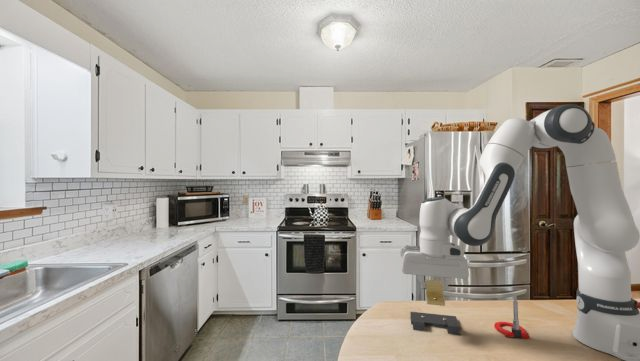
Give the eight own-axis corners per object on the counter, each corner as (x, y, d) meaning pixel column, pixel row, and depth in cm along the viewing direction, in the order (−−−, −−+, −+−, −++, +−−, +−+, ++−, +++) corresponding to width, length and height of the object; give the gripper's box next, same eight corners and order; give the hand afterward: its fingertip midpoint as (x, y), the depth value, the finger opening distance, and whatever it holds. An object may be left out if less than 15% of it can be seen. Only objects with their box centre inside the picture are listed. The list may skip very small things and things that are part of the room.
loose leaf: (441, 296, 94) (441, 280, 94) (444, 305, 87) (444, 289, 87) (425, 294, 96) (425, 279, 96) (427, 304, 89) (427, 288, 89)
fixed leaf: (455, 319, 100) (455, 312, 100) (461, 335, 90) (461, 327, 90) (410, 314, 104) (410, 307, 104) (411, 329, 94) (411, 321, 94)
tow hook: (490, 324, 98) (503, 337, 88) (488, 285, 98) (501, 295, 89) (517, 326, 96) (533, 339, 87) (515, 286, 97) (531, 296, 88)
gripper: (400, 247, 94) (400, 289, 94) (470, 251, 88) (470, 296, 88) (400, 243, 100) (400, 282, 100) (465, 246, 94) (465, 288, 94)
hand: (433, 289), depth 94 cm, fingers closed on loose leaf, 5 cm apart
